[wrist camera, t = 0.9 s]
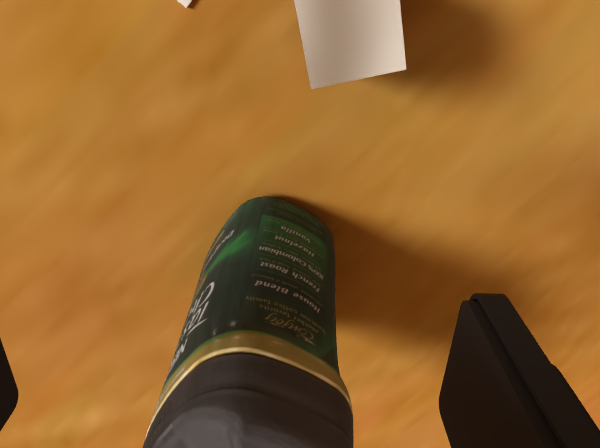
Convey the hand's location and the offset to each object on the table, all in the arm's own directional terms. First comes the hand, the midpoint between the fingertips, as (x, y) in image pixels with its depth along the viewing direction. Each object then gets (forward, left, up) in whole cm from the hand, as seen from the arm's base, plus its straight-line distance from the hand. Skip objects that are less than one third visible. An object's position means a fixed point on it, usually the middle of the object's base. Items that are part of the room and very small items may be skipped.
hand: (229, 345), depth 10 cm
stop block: (-4, -4, -22) cm, 22 cm away
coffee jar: (+3, +11, -22) cm, 24 cm away
